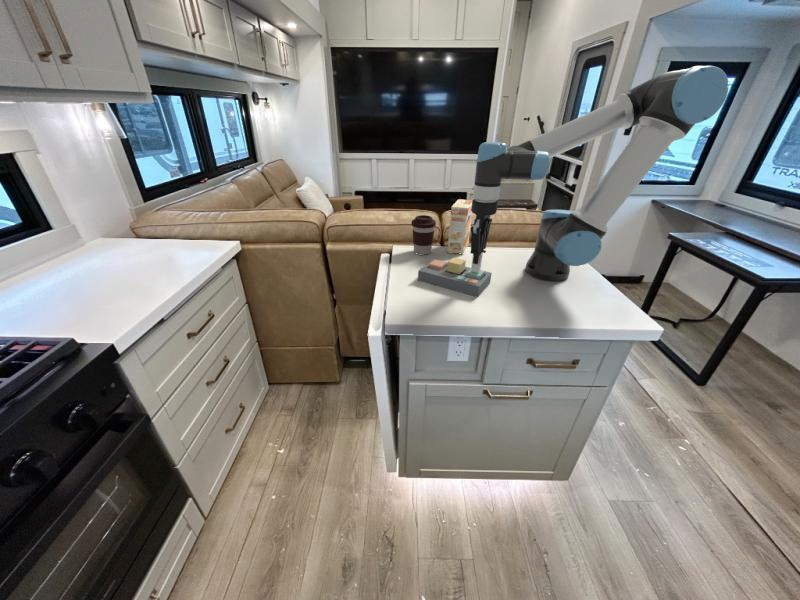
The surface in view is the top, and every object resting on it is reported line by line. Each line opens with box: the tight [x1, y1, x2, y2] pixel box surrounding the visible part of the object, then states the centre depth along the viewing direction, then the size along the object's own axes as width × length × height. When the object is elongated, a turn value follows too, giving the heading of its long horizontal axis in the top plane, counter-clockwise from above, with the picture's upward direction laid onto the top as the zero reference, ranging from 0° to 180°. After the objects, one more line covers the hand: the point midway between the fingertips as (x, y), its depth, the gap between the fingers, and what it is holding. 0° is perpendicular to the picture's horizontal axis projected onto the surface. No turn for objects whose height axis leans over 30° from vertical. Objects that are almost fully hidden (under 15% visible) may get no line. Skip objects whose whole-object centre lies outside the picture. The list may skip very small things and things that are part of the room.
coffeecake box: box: [447, 198, 474, 255], centre depth 138 cm, size 15×7×20 cm, turn 160°
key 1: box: [429, 259, 447, 271], centre depth 116 cm, size 5×5×4 cm
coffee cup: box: [410, 214, 437, 255], centre depth 134 cm, size 10×10×15 cm
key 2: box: [466, 269, 485, 280], centre depth 109 cm, size 5×5×4 cm
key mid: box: [447, 257, 467, 274], centre depth 111 cm, size 5×5×4 cm
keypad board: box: [417, 258, 493, 298], centre depth 112 cm, size 22×12×4 cm, turn 58°
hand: (475, 271), depth 108 cm, fingers closed
